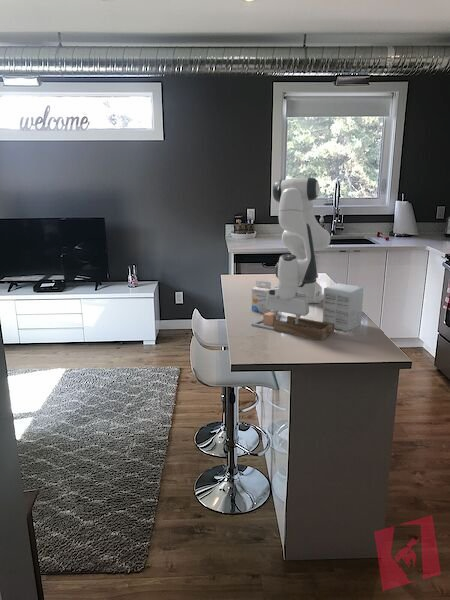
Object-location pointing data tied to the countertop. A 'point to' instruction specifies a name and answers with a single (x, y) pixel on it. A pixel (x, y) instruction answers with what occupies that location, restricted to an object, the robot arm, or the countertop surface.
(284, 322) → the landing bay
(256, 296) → the ink box
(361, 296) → the supplement box
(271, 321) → the terracotta block
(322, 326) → the walnut cubby
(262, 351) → the countertop surface
